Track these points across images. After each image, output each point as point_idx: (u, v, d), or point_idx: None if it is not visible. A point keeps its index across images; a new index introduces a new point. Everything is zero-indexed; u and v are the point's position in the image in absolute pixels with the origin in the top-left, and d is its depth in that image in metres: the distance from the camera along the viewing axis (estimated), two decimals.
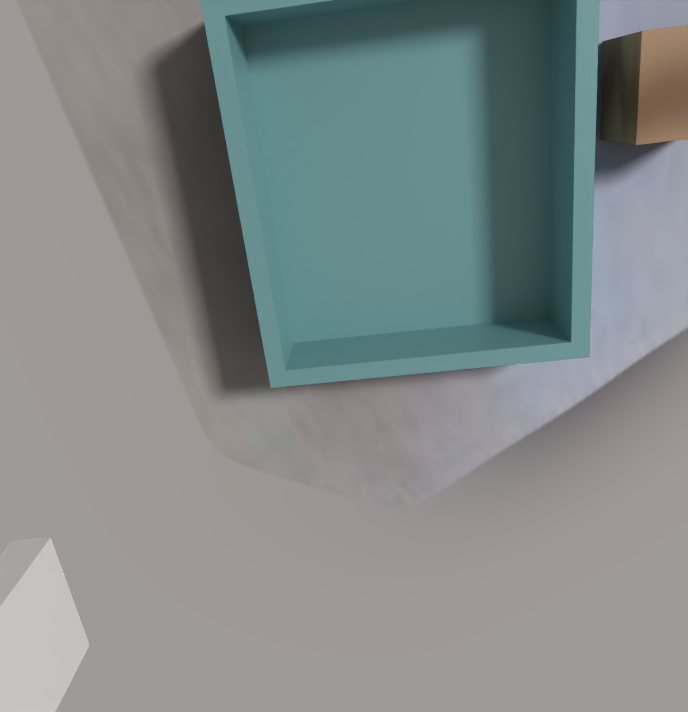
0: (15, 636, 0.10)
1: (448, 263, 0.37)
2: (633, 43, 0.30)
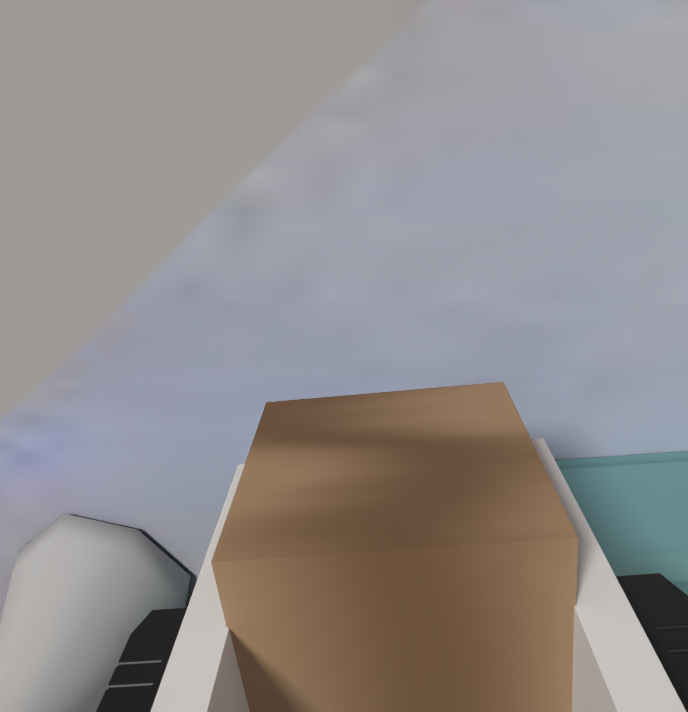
0: None
1: None
2: None
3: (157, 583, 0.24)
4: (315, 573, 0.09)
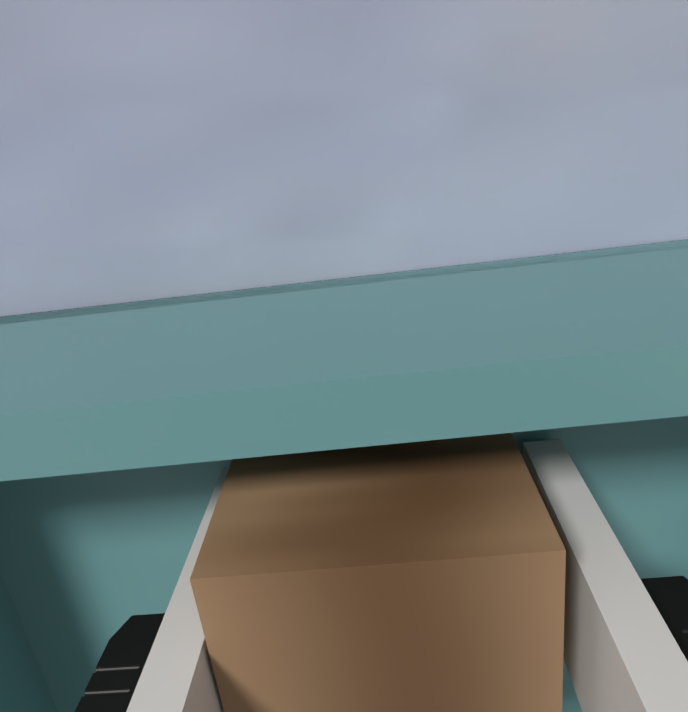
0: None
1: None
2: None
3: None
4: (297, 590, 0.08)
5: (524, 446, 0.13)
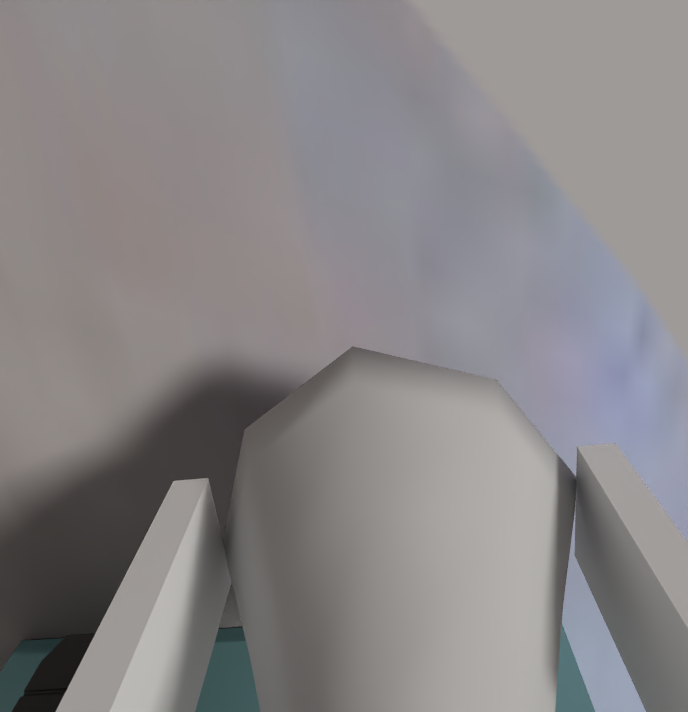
0: (194, 559, 0.12)
1: None
2: None
3: None
4: None
5: (579, 451, 0.12)
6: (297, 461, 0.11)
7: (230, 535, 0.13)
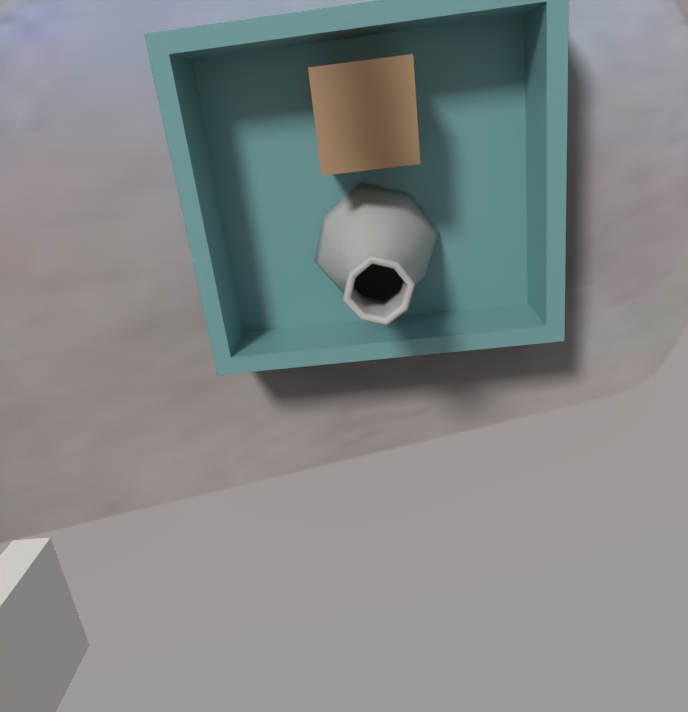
0: (15, 636, 0.10)
1: (453, 141, 0.35)
2: None
3: None
4: (338, 70, 0.30)
5: None
6: (344, 214, 0.35)
7: (319, 253, 0.37)
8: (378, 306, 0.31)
